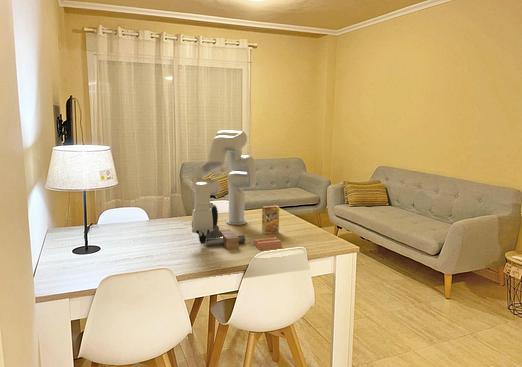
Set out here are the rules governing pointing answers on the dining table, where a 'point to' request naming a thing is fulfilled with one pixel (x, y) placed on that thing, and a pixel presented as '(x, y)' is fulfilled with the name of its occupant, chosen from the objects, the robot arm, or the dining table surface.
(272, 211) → the candy box
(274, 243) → the v block
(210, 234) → the alarm clock
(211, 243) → the axle
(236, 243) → the beam
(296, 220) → the dining table surface
